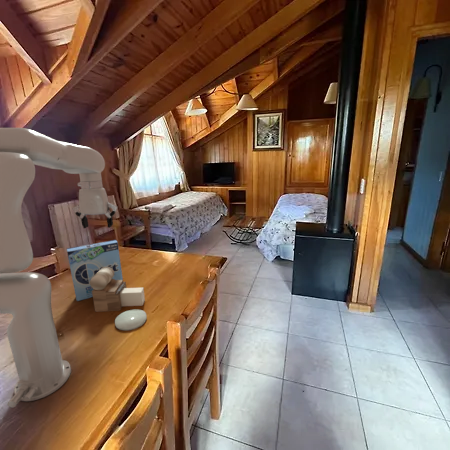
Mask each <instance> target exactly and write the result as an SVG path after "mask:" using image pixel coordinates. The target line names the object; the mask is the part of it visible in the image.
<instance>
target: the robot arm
mask: <svg viewBox="0 0 450 450" xmlns="http://www.w3.org/2000/svg"><path fill="white" fill-rule="evenodd" d="M35 165H36V166H39V167H43V168H48V169H52V170H62V171H63V172H64V173H67V174H72V175H73V174H74V175H79V182H77V186H78V187H80V188H81V189H80V188H79V190H78V191H79V192H78V201H79V202H78V204H77V205H76V206H73V207H72V211H73V212H74V213H75V215H76V216H77V217H78V218H79V219H80V220H81V225H82V227H83V229H86V228H89V220H88V217H87V216H88V215H89V216H90V215H105V216H106V224H107V228H108V229H109V228H112V226H113V225H114V220H113V217H114V215H116V213H117V211H118V207H119V206H118V205H115V204H114V203H112V202H111V203H110V202H109V198H108V195H107V191H106V189H105V188H104V185H103V180H102V179H103V178H102V172H103V171H104V170H105V167H106V162H105V158H104V157H103V155H102V154H101V153H100V152H99V151H98V150H95V148H94V149H93V148H91V147H88V146H83V145H77V144H74V143H69V142H65V141H60V140H56V139H54V138H52V137H49V136H48V135H47V136H46V135H45V134H42V133H40V132H38V131H35V130H32V129H29V128H25V127H0V314H2V315H3V314H5V315H7V314H8V315H9V314H10V315H12V319H11V321H10V322H9V324H8V325H7V328H6V336H7V340H8V343H9V347H10V350H11V353H12V358H13V361H14V365H15V369H16V373H17V375H18V380H17V381H16V383H15V385H14V388H13V392H14V395H12V397H11V398H10V400H9V401H8V402H7V406H8V407H9V408H15V407H17V405H18V404H19V403H20V402H21V401H22V402H32V401H37V400H40V399H43V398H45V397H47V396H49V395H51V394H53V393H54V392H56V391H57V390H58V389H60V388H61V387H62V386H63V385H64V384H65V383H66V382H67V381H68V379H69V378H70V375H71V373H72V367H71V364H70V363H69V361H67V360H64V359H63V357H62V352H61V349H60V344H59V339H58V333H57V329H56V324H55V321H54V316H53V309H52V283H51V280H50V279H49V277H47V276H46V275H44V274H42V273H39V272H31V271H29V272H28V271H27V272H24V270H26V269H28V268H29V267H30V266H31V264H32V263H33V260H34V253H33V248H32V245H31V244H32V243H31V240H30V238H29V235H28V231H27V229H26V226H25V222H24V218H23V214H22V206H23V205H22V203H23V201H24V198H25V195H26V194H27V192H28V190H29V188H30V187H31V186H32V184H33V182H34V180H35V177H36V167H35ZM110 209H112V210H111V211H110ZM22 271H23V272H22Z"/></svg>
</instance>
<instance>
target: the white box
mask: <svg viewBox="0 0 450 450" xmlns="http://www.w3.org/2000/svg"><path fill="white" fill-rule="evenodd" d="M120 297H121V305H122V307H134V306H135V307H139V306H143V305H144V303H145V300H146V299H145V297H146V296H145V291H144V287H126V288H123V289H122V290H121V292H120Z"/></svg>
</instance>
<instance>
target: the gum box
mask: <svg viewBox="0 0 450 450" xmlns="http://www.w3.org/2000/svg"><path fill="white" fill-rule="evenodd" d="M66 253H67V257H68V263H69V267H70V274H71V279H72V283H73V290H74V294H75V299H76V302H80V301H83V300H87V299H90V298H93V295H92V291H93V288H92V287H91V285H90V280H91V279H92V278H93V276H94V275H95V274H96V273H97V272H98V271H99V270H100V269H101V268H102V267H106V266H107V267H110V268H112V269H113V270H114V277H113V278H112V279H115V280H123V281H124V278H123V270H122V264H121V256H120V251H119V243H118V241H117V239H112V240H108V241H107V240H106V241H101V242H97V243H89V244H84V245H79V246H73V247H66Z"/></svg>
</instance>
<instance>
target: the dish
mask: <svg viewBox="0 0 450 450" xmlns="http://www.w3.org/2000/svg"><path fill="white" fill-rule="evenodd" d="M146 322H147V312H146V311H145V310H142V309H140V308H139V309H138V308H137V309H136V308H135V309H130V310H126V311H123V312H121V313H120V314H119V315H117V316H116V317H115V320H114V325H115V328H116V329H117V330H120V331H132V330H136V329H138V328H140V327H142V326H143V325H144V324H145V323H146Z"/></svg>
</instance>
